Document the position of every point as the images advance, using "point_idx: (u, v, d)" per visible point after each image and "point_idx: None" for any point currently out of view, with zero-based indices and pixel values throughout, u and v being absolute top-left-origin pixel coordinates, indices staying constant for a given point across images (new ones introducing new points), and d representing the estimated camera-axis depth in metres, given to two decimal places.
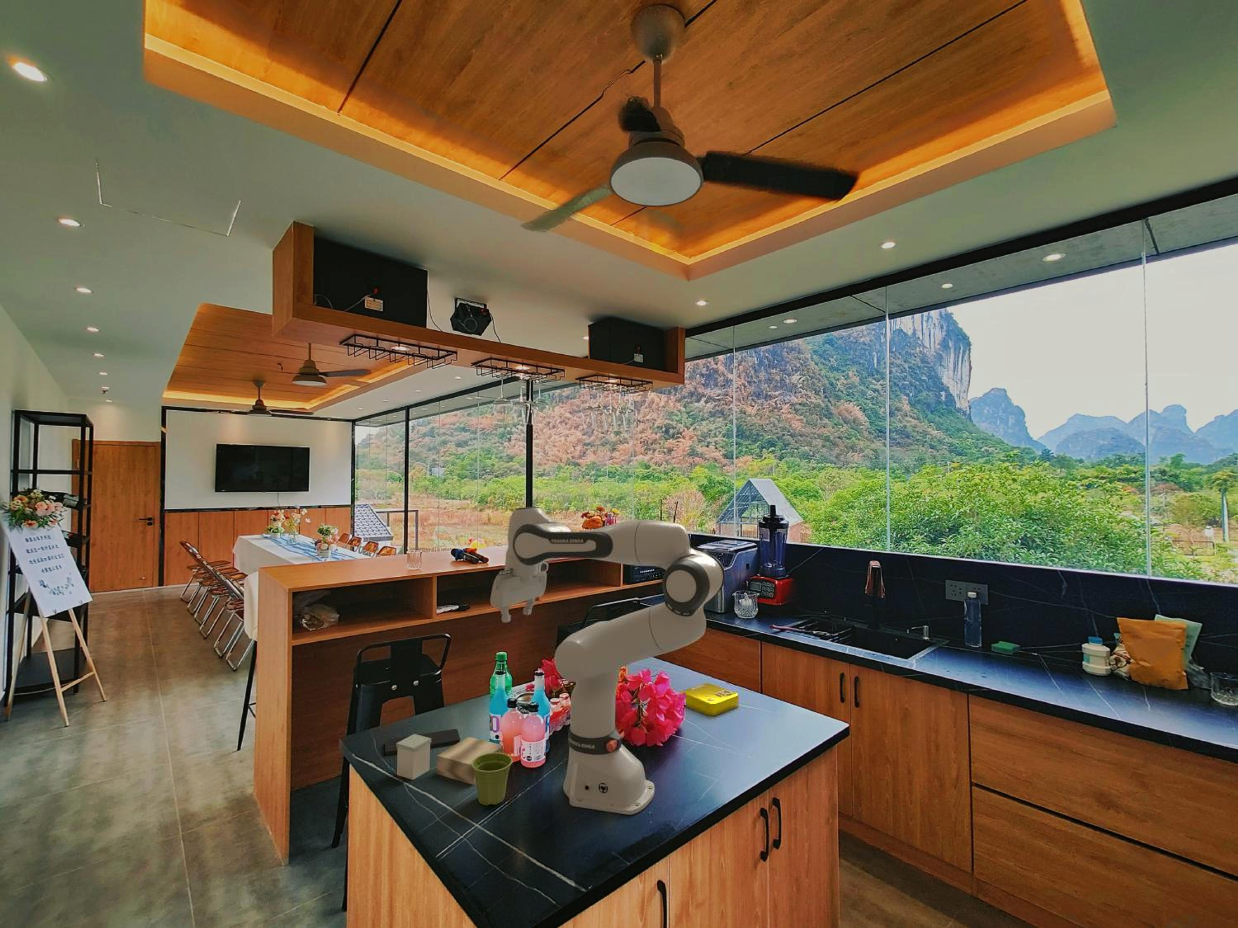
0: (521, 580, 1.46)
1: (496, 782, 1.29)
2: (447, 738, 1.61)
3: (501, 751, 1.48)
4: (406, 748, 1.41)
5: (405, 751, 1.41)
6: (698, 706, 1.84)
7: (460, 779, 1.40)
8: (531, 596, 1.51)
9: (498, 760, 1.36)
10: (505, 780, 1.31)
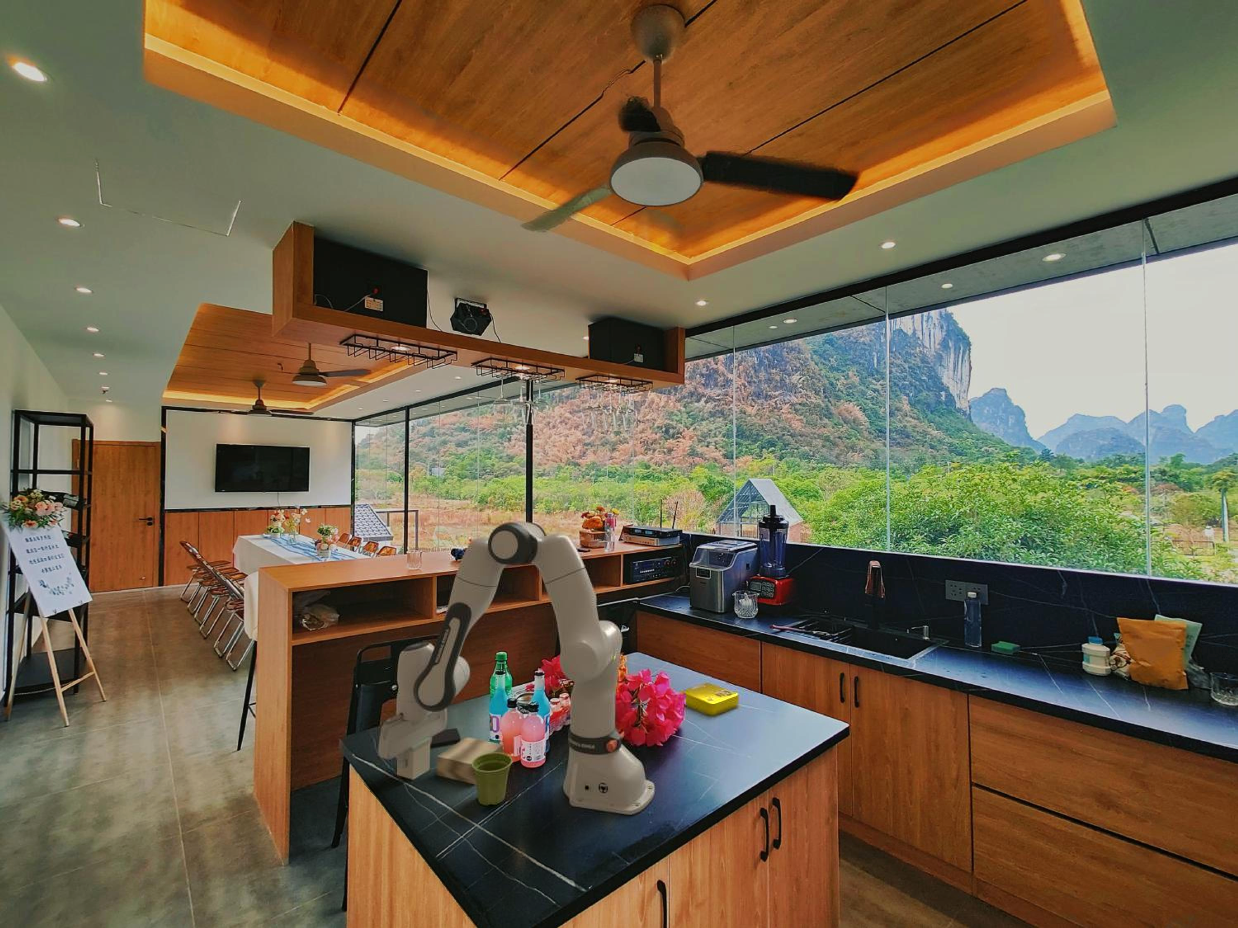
0: (413, 723, 1.41)
1: (496, 782, 1.29)
2: (447, 737, 1.61)
3: (501, 750, 1.48)
4: None
5: (405, 751, 1.41)
6: (698, 706, 1.84)
7: (461, 779, 1.39)
8: (428, 736, 1.46)
9: (498, 760, 1.36)
10: (505, 780, 1.31)
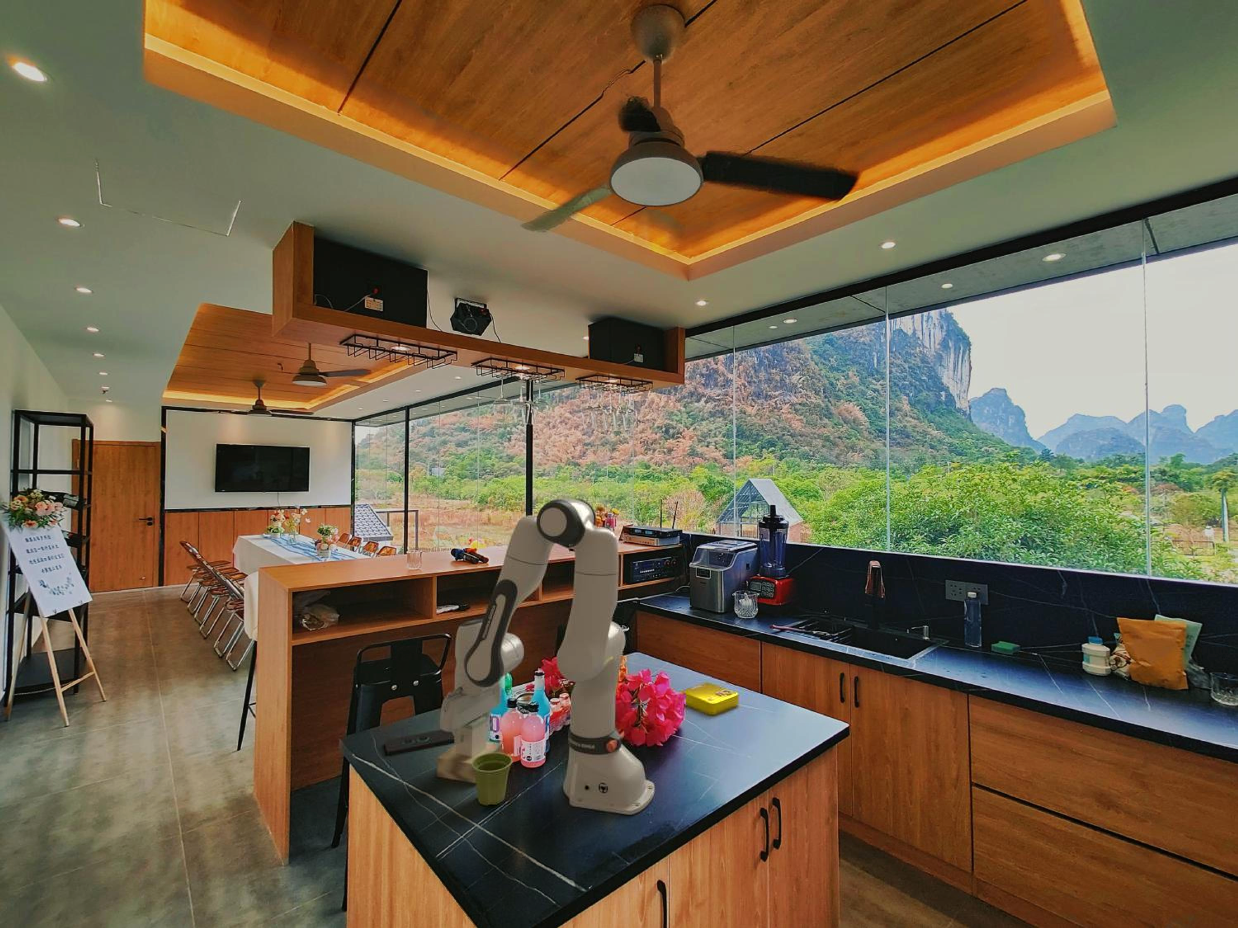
0: (471, 697, 1.44)
1: (496, 782, 1.29)
2: (448, 736, 1.62)
3: (500, 749, 1.49)
4: (464, 726, 1.43)
5: (463, 729, 1.44)
6: (698, 706, 1.84)
7: (464, 779, 1.39)
8: (485, 711, 1.49)
9: (498, 760, 1.36)
10: (505, 780, 1.31)
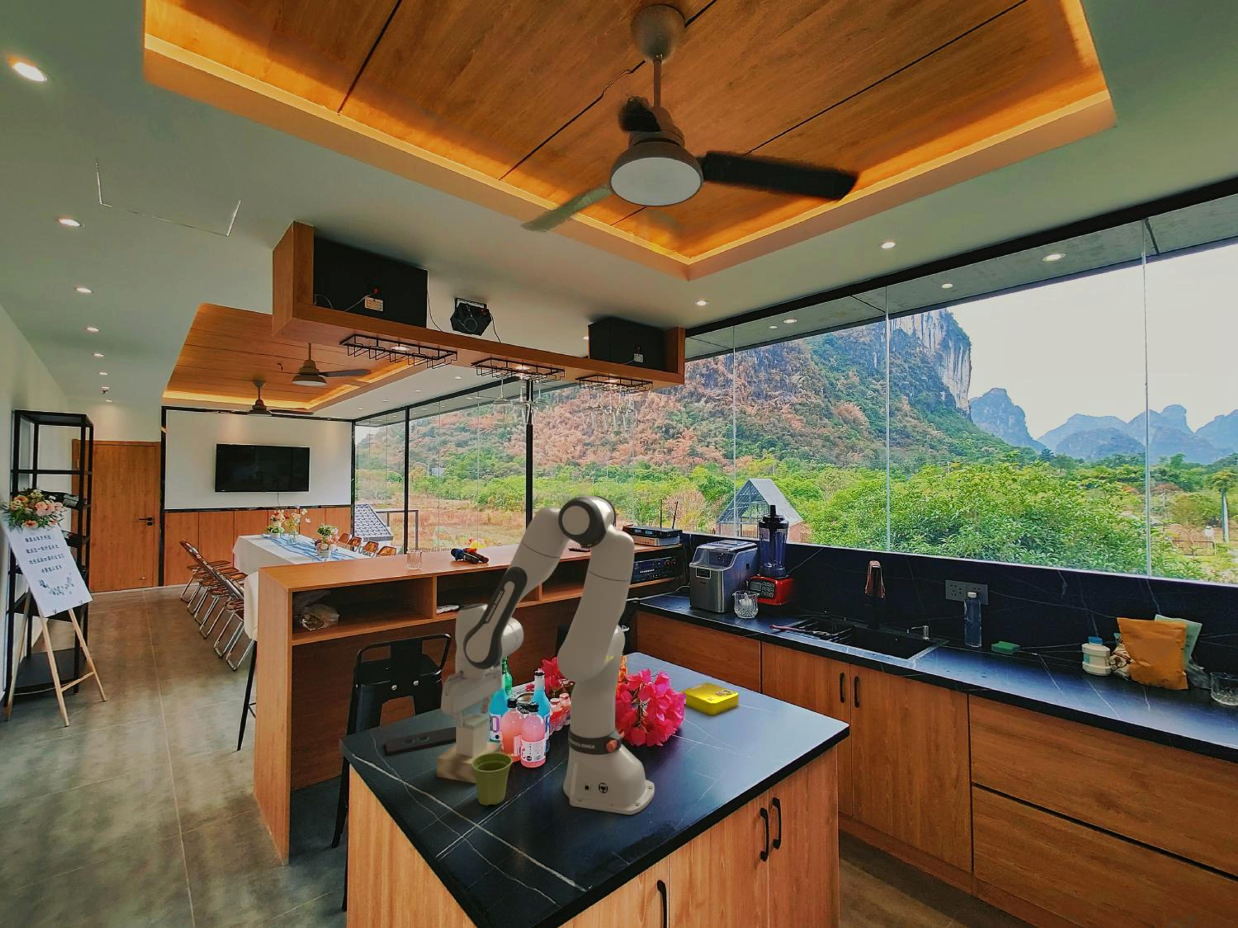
0: (472, 681, 1.44)
1: (496, 782, 1.29)
2: (448, 736, 1.62)
3: (500, 749, 1.49)
4: (465, 726, 1.43)
5: (464, 729, 1.44)
6: (698, 706, 1.84)
7: (463, 779, 1.40)
8: (486, 695, 1.49)
9: (498, 760, 1.36)
10: (505, 780, 1.31)
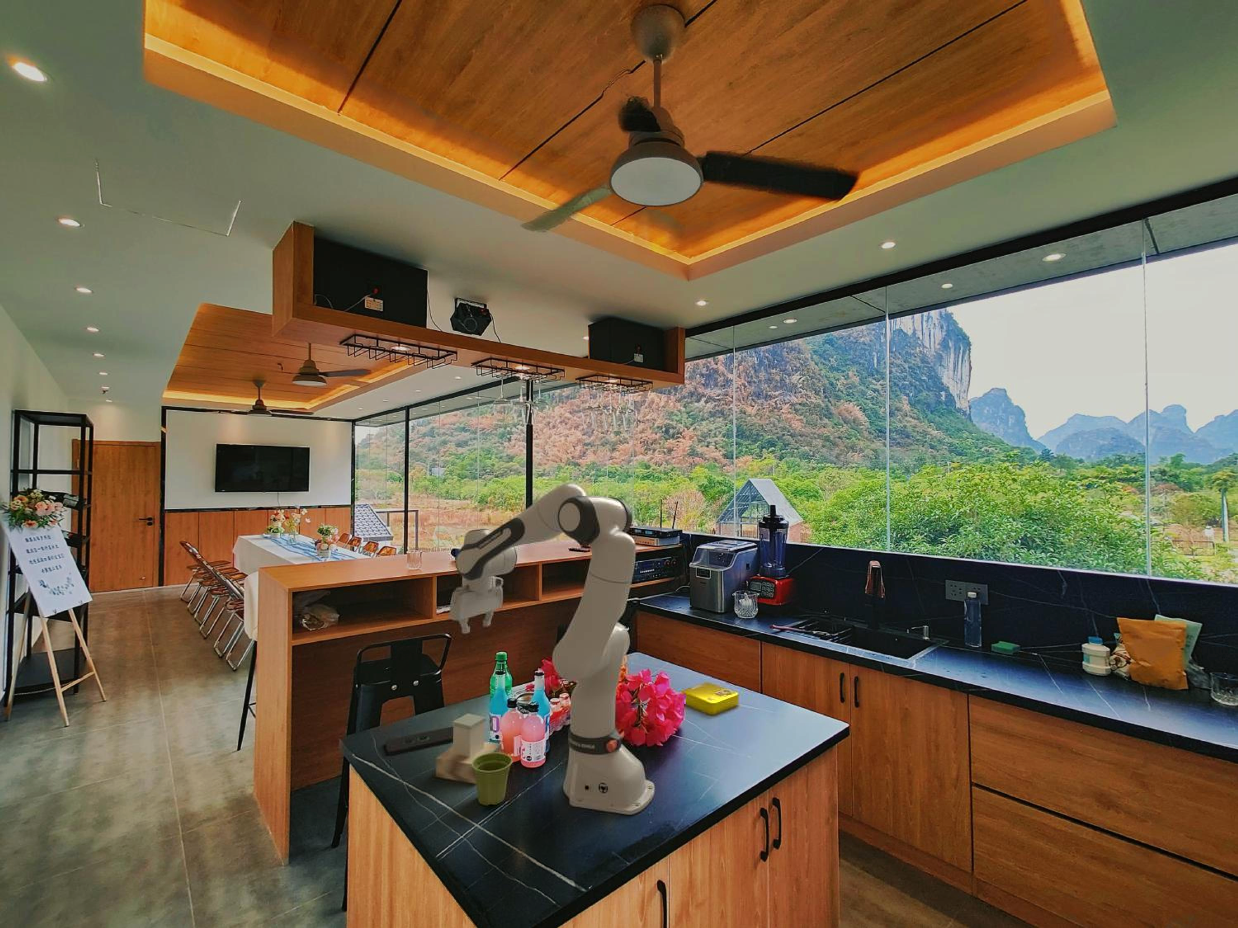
0: (477, 595, 1.64)
1: (496, 782, 1.29)
2: (448, 735, 1.62)
3: (499, 750, 1.49)
4: (462, 726, 1.43)
5: (461, 729, 1.44)
6: (699, 706, 1.84)
7: (462, 780, 1.39)
8: (488, 609, 1.69)
9: (498, 760, 1.36)
10: (505, 780, 1.31)
